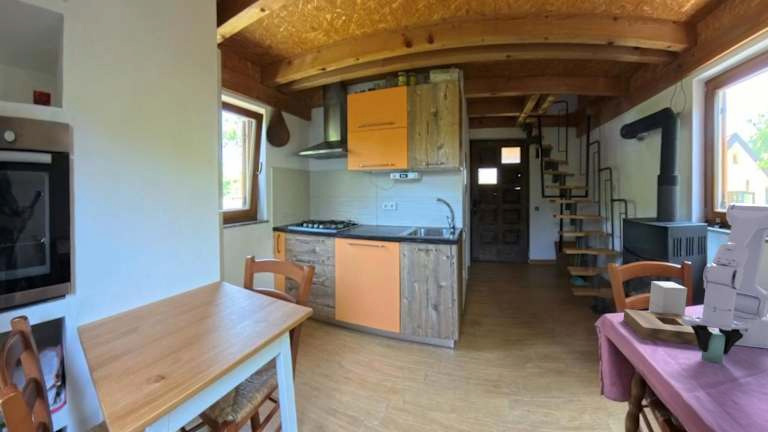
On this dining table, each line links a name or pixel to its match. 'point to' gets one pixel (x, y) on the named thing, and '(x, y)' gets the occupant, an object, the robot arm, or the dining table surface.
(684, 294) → the supplement box
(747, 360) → the dining table surface
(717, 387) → the dining table surface
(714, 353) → the peg
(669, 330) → the socket block
